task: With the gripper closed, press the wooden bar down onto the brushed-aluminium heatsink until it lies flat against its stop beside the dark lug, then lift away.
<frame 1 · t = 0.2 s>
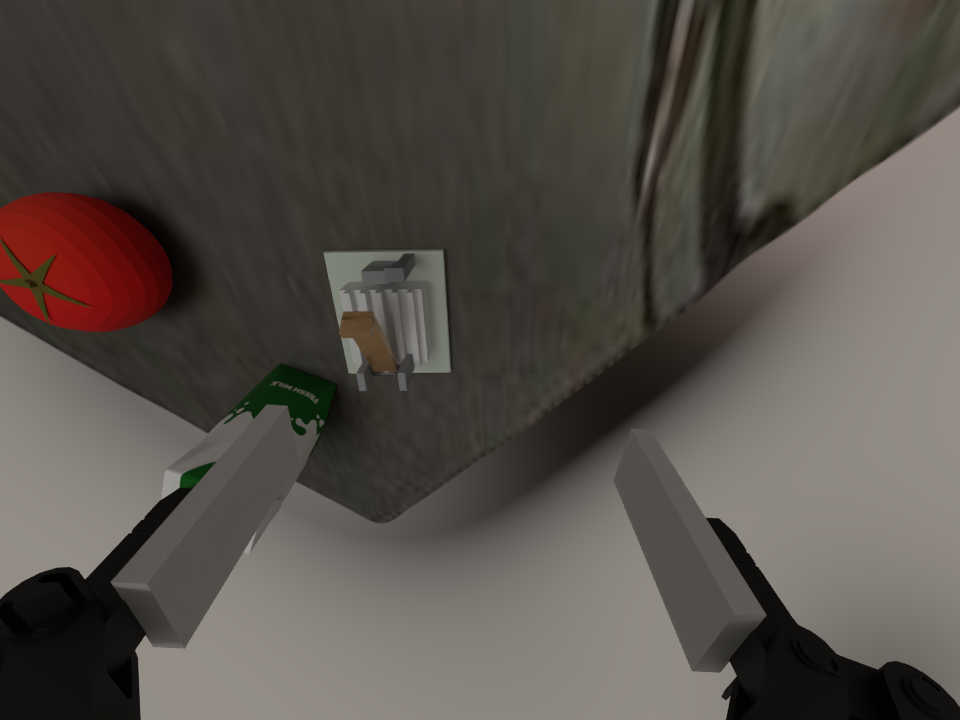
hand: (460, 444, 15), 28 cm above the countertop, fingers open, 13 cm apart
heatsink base: (393, 313, 41), on the countertop
milk carton: (302, 395, 47), on the countertop
tomato: (136, 253, 39), on the countertop
wooden bar: (374, 352, 34), point 9 cm above the countertop, hinge at 35.0°
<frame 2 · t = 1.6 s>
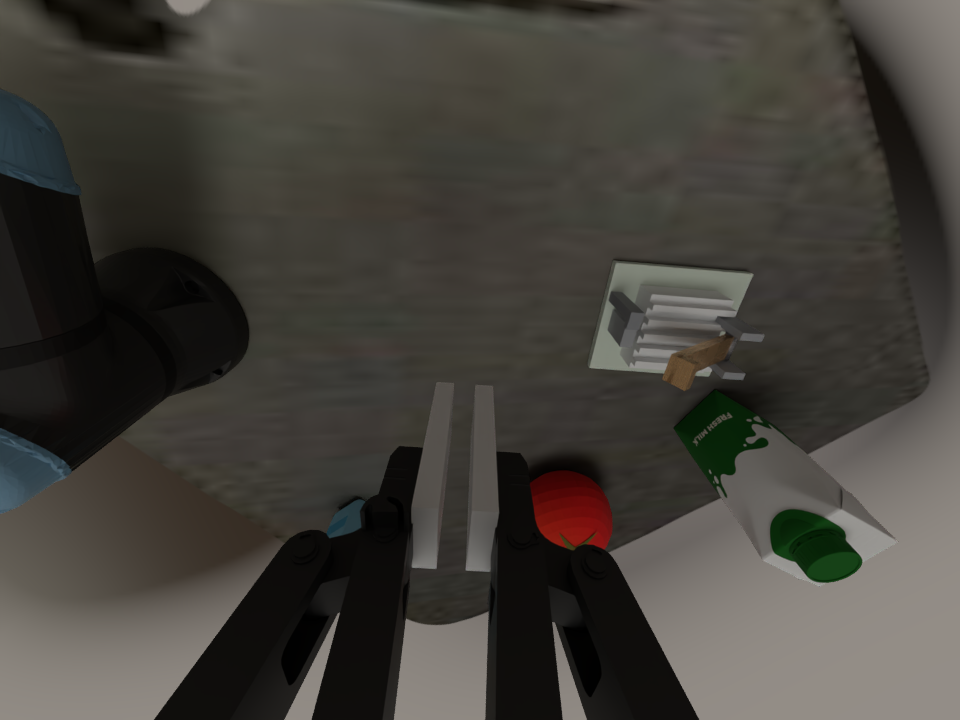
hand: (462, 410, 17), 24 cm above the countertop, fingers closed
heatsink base: (662, 320, 41), on the countertop
milk carton: (712, 420, 47), on the countertop
light blue flat block: (376, 521, 57), on the countertop
tomato: (556, 485, 53), on the countertop
wooden bar: (708, 358, 33), point 9 cm above the countertop, hinge at 35.0°
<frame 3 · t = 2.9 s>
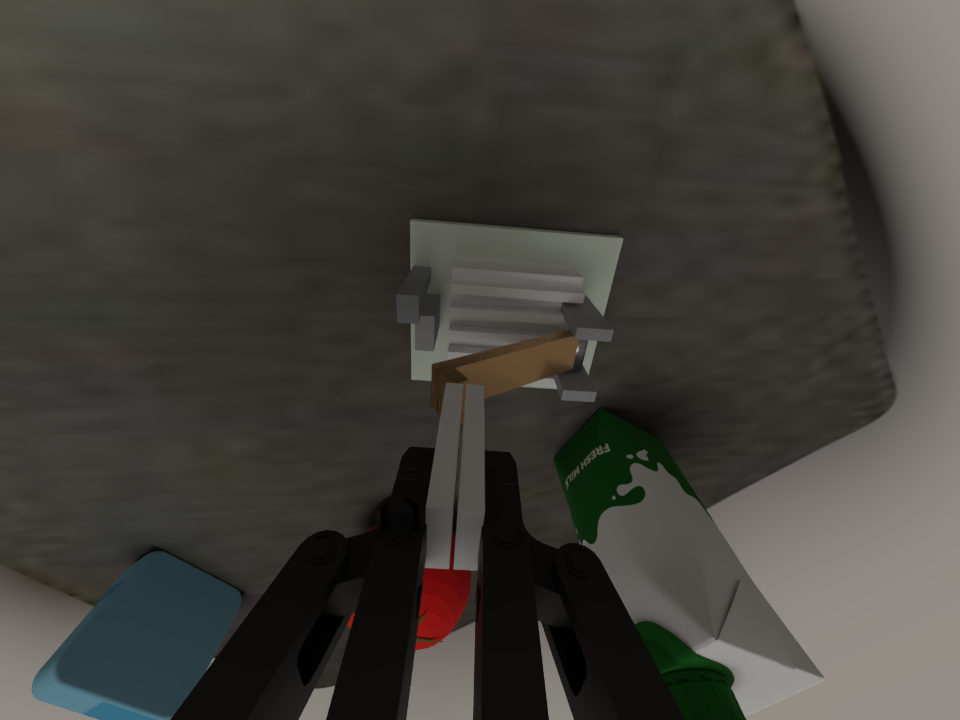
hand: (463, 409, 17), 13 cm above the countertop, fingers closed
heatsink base: (506, 310, 28), on the countertop
milk carton: (605, 448, 35), on the countertop
light blue flat block: (194, 575, 44), on the countertop
tomato: (414, 530, 40), on the countertop
wooden bar: (525, 368, 20), point 9 cm above the countertop, hinge at 34.9°, touching gripper
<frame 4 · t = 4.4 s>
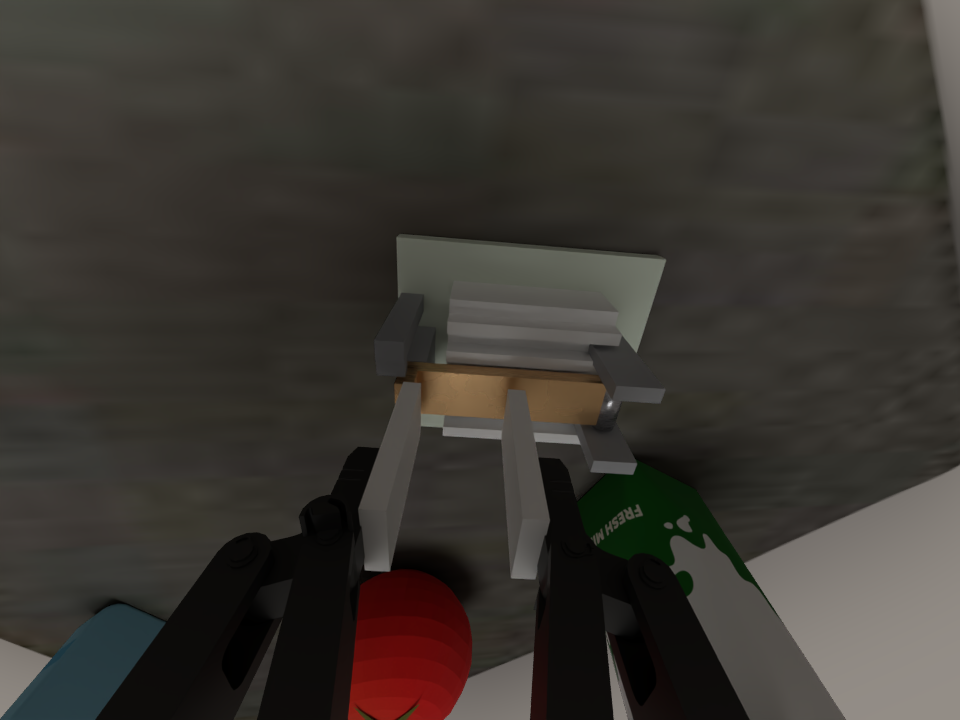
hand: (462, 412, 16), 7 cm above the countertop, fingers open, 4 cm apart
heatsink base: (516, 344, 23), on the countertop
milk carton: (630, 497, 30), on the countertop
light blue flat block: (160, 627, 39), on the countertop
tomato: (408, 583, 35), on the countertop
wooden bar: (513, 400, 17), point 6 cm above the countertop, hinge at -0.2°, touching gripper
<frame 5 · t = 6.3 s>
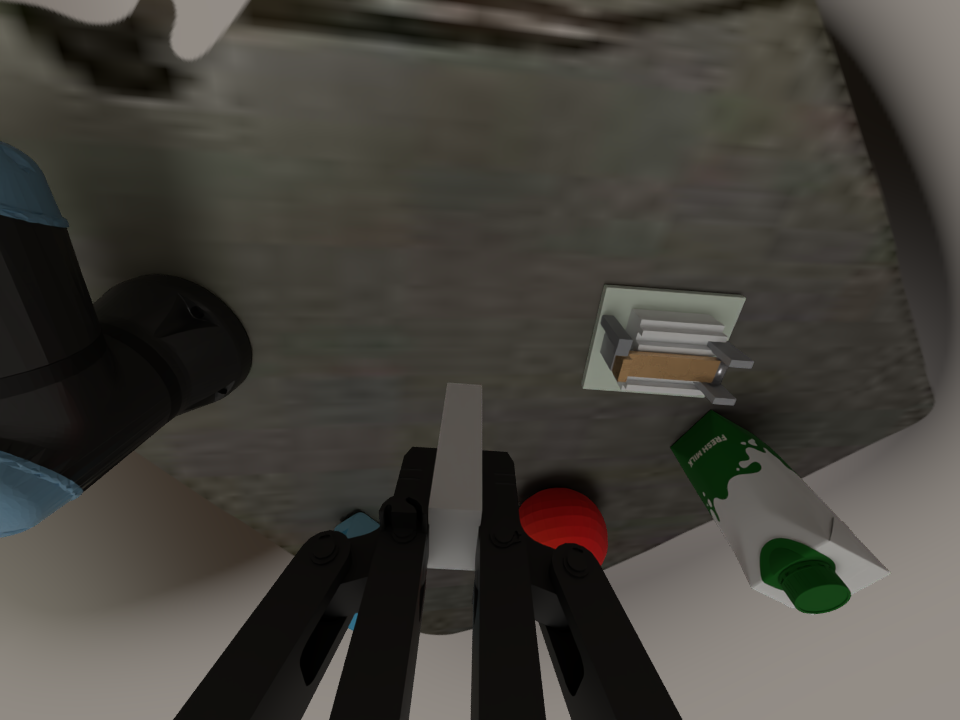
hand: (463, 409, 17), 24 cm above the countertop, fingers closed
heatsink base: (655, 342, 41), on the countertop
milk carton: (710, 439, 47), on the countertop
light blue flat block: (377, 533, 58), on the countertop
tomato: (553, 501, 53), on the countertop
wooden bar: (672, 369, 35), point 6 cm above the countertop, hinge at -0.1°
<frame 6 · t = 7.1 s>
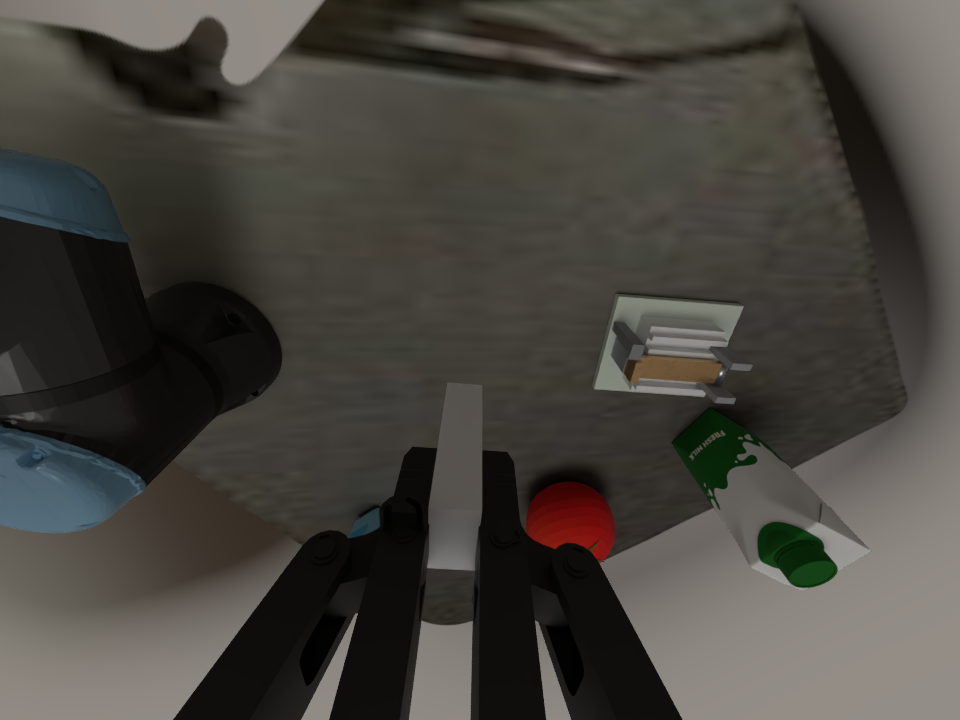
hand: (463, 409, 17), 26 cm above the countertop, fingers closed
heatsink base: (660, 346, 44), on the countertop
milk carton: (708, 435, 51), on the countertop
light blue flat block: (393, 528, 61), on the countertop
tomato: (562, 494, 57), on the countertop
wooden bar: (678, 371, 39), point 6 cm above the countertop, hinge at -0.1°
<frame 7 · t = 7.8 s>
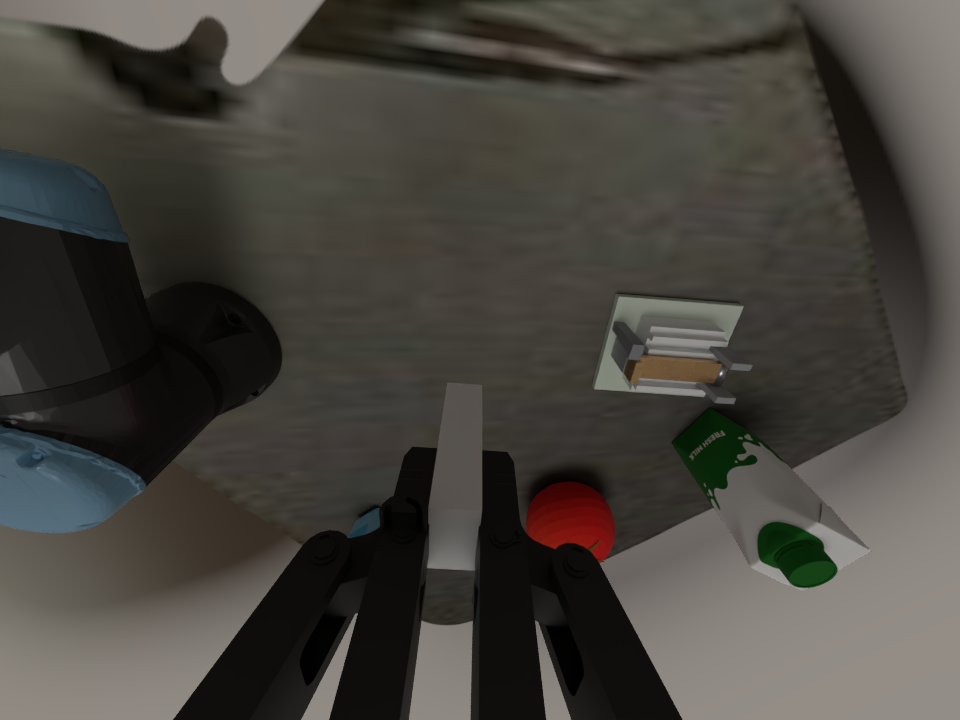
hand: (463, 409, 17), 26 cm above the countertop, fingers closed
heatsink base: (660, 346, 44), on the countertop
milk carton: (708, 435, 51), on the countertop
light blue flat block: (393, 528, 61), on the countertop
tomato: (562, 494, 57), on the countertop
wooden bar: (678, 371, 39), point 6 cm above the countertop, hinge at -0.1°
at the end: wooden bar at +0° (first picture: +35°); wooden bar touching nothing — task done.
